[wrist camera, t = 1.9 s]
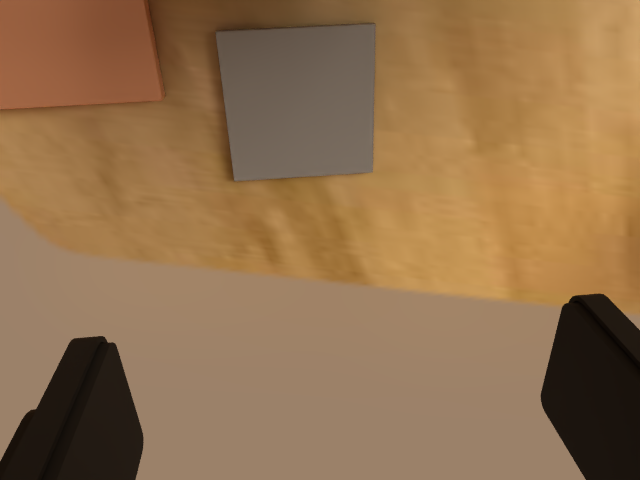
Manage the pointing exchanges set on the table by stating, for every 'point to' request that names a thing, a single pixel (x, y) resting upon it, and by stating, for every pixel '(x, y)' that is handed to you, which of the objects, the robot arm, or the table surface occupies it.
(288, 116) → the slate grey mat
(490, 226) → the table surface
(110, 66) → the terracotta coaster
